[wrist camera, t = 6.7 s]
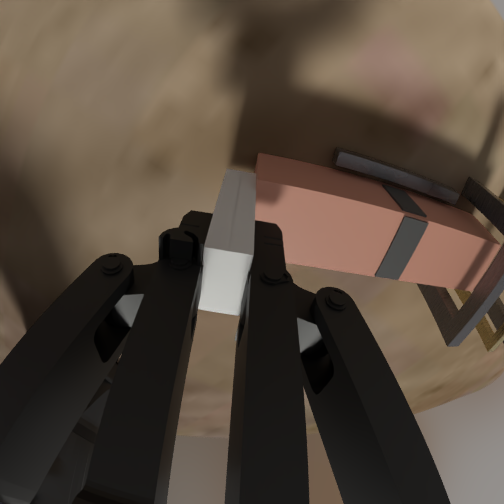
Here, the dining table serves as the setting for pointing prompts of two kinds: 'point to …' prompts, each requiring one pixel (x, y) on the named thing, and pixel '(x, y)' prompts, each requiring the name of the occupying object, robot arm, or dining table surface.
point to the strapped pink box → (369, 226)
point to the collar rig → (438, 299)
